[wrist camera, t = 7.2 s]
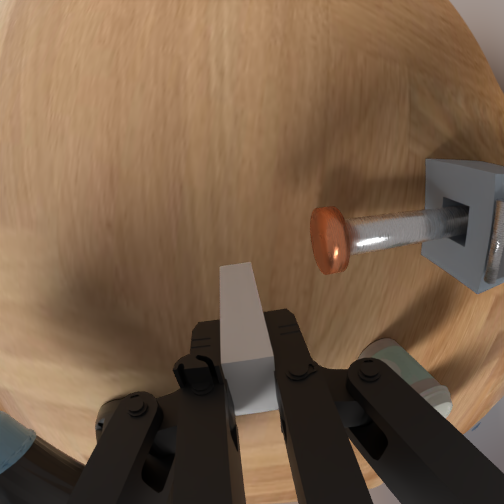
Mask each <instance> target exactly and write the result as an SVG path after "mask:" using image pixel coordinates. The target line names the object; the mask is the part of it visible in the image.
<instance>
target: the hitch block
mask: <svg viewBox="0 0 504 504" xmlns="http://www.w3.org/2000/svg"><path fill="white" fill-rule="evenodd" d="M496 199H503V200H504V166H501V165H496V164H492V163H488V162H483V161H471V160H453V159H426V191H425V209H433V208H442V207H451V206H461V205H467V206H470V208H469V219H468V228H467V234H463V235H458V236H453V237H448V238H443V239H438V240H432V241H427V242H422V250H421V255H423V256H424V257H426V258H427V259H429V260H430V261H432V262H433V263H434V264H436V265H437V266H439V267H440V268H442V269H443V270H445V271H446V272H447V273H449V274H450V275H452V276H453V277H455V278H456V279H457V280H459V281H460V282H461V283H463V284H464V285H466V286H467V287H468V288H470V289H471V290H472V291H474V292H475V293H476V294H479V293H482V292H484V291H486V290H488V289H491V288H493V287H495V286H497V285H499V284H502V283H504V277H502V278H499V279H496V283H495V284H488V283H486V282H485V281H484V275H485V270H486V266H487V261H488V256H489V251H490V245H491V239H492V232H493V225H494V217H495V208H496Z"/></svg>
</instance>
